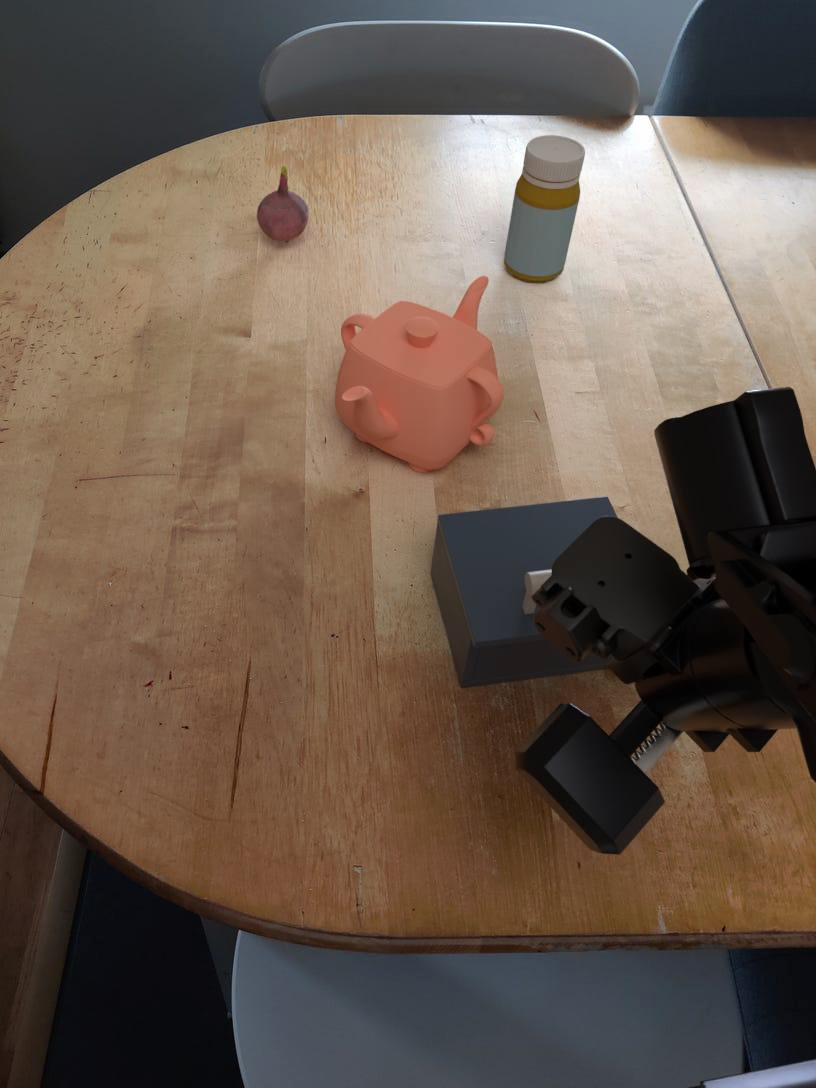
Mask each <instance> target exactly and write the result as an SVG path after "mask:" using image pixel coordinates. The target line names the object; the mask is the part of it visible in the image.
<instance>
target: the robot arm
mask: <svg viewBox="0 0 816 1088" xmlns="http://www.w3.org/2000/svg"><path fill="white" fill-rule="evenodd" d="M653 435H654V439H655V443H656V446H657V450H658V454H659V458H660V461H661V465H662V470H663V473H664V477H665V480H666V483H667V488H668V491H669V495H670V499H671V502H672V507H673V510H674V514H675V517H676V521H677V525H678V529H679V533H680V537H681V540H682V543H683V547H684V552H685V555H686V558H687V563H688V568H687V569H686V573H685V572H684V571H683V570H682V569H681V568H680V564H679V563H678V560H677V559H676V558H675V557H674V556H673V555H672V554H670V553H669V552H667V551H666V550H665V549H664V548H662V547H661V546H659V544H657V543H655V542H654V541H652V540H651V539H649V537H647V536H645V535H644V534H643V533H641V532H640V531H639V530H637V529H636V528H634V527H633V526H631V525H630V524H629V523H627V522H626V521H624V520H623V519H622V518H620V517H618V516H617V517H618V518H617V517H614V516H604V517H600V518H598V519H597V520H595V521H594V522H593V523H592V524H591V525H590V526H589V527H588V528H587V529H586V530H585V531H584V532H583V533H582V534H581V535H580V536H579V537H578V538H577V539H576V540H575V541H574V542H573V543H572V544H571V545H570V546H569V547H568V548H567V549H566V550H565V551H564V552H563V553H562V554H561V555H560V556H559V557H558V558H557V559H556V560H555V561H554V563H553V566H552V573H551V576H550V577H549V578H548V579H547V580H546V581H545V582H544V583H543V584H542V585H541V587H540V588H539V589H538V590H537V591H536V592H535V593H534V594H533V595H532V599H533V601H534V602H535V603H536V604H537V605H538V606H539V607H540V608H539V609H538V610H537V611H536V612H535V613H534V626H535V627H536V629H537V630H538V631H539V633H540V634H541V635H543V636H544V637H545V638H546V639H547V640H549V641H550V642H551V643H552V644H553V645H554V646H556V647H557V648H558V649H559V650H560V651H562V652H563V653H564V654H565V655H566V656H567V657H569V658H570V659H571V660H574V661H577V662H581V661H582V660H583V659H584V657H585V656H586V655H587V654H589V653H595V654H597V655H598V656H599V657H601V658H603V659H606V658H607V657H608V656H609V655H610V654H611V655H612V656H613V658H612V659H611V660H610V661H609V662H608V663H607V664H606V666H607V667H608V668H609V669H608V670H610V671H611V672H612V673H613V674H614V675H615V676H616V677H617V679H619V680H620V682H622V683H623V684H624V685H631V684H634V688H635V691H636V693H637V695H638V697H639V699H640V700H639V702H637V704H636V705H635V706H634V707H633V708H632V709H631V711H629V712H628V714H627V715H626V716H625V717H624V718H623V719H622V720H621V721H620V723H619V724H618V725H617V726H616V727H615V728H614V729H613V730H612V731H611V732H610V733H609V734H608V733H607V732H606V731H605V730H604V729H603V728H602V727H601V726H600V725H599V724H598V723H597V721H595V720H594V719H593V717H591V716H590V715H589V714H587V713H586V712H585V711H583V710H581V709H580V708H578V707H577V706H576V705H574V704H572V703H571V702H570V703H563V702H560V704H558V706H557V707H556V708H555V709H554V710H553V711H552V712H551V713H550V714H549V715H548V716H547V717H546V718H545V719H544V720H543V722H541V723H540V725H539V726H538V727H536V728H535V730H534V731H533V732H532V733H531V734H530V735H529V736H528V737H527V738H526V739H525V741H524V742H523V743H522V744H521V745H520V746H519V747H518V748H516V750H515V751H514V770H515V771H517V773H518V774H519V775H520V776H521V777H522V778H523V779H524V780H525V781H526V783H528V784H529V786H530V787H531V788H532V789H533V790H534V791H535V792H536V793H537V794H538V795H539V797H541V799H543V801H544V802H545V803H546V804H547V805H548V806H549V807H550V808H551V809H552V811H554V813H555V814H556V815H557V816H558V817H559V818H560V819H561V821H563V822H564V824H565V825H566V826H567V827H568V828H569V829H570V830H571V831H572V832H573V833H574V834H575V835H576V837H578V839H579V840H580V841H581V842H582V843H583V844H584V845H585V846H586V847H587V848H588V849H589V850H590V851H592V852H595V853H599V854H602V855H622V853H623V852H624V851H625V850H626V849H627V848H628V847H629V845H630V844H631V843H632V842H633V840H635V838H636V837H637V836H638V835H639V834H640V833H641V831H642V830H643V829H644V828H645V827H646V825H647V824H648V823H649V822H650V820H651V819H653V817H654V816H655V815H656V814H657V812H658V811H659V810H660V809H661V808H662V806H664V805H665V803H666V800H665V799H664V796H663V794H662V791H661V789H660V788H659V786H657V784H656V783H655V782H654V781H653V780H652V779H651V778H650V776H648V775H647V774H648V773H649V772H650V771H651V769H652V768H653V767H654V766H655V765H657V763H658V761H659V760H660V759H661V758H662V757H663V756H664V755H665V754H666V753H667V751H668V750H669V749H670V748H671V747H672V746H673V745H674V743H675V742H676V741H677V740H678V739H679V738H680V737H681V736H682V734H683V733H685V734H686V735H687V736H688V738H690V739H691V741H693V742H694V743H695V744H696V745H697V746H698V747H699V748H700V749H701V751H702V752H704V753H715V752H716V751H717V750H718V748H719V747H720V746H721V745H722V744H723V742H724V741H725V740H726V739H727V738H728V737H729V736H731V737H732V738H733V740H735V742H737V743H738V744H739V745H740V746H741V748H743V750H745V752H747V753H760V752H761V751H762V750H763V748H764V747H765V746H766V745H767V744H768V742H769V741H770V740H771V739H772V738H773V737H774V735H776V733H777V732H778V731H779V730H791V729H792V730H793V729H796V732H797V735H798V739H799V742H800V746H801V749H802V753H803V756H804V760H805V763H806V767H807V770H808V774H809V776H810V778H811V780H812V781H813V782H814V783H815V784H816V465H815V462H814V458H813V455H812V453H811V449H810V446H809V443H808V440H807V436H806V431H805V425H804V419H803V414H802V412H801V408H800V404H799V402H798V399H797V396H796V393H795V390H794V388H792V387H791V386H782V387H773V388H765V389H754V390H746V391H744V392H742V393H741V394H740V395H739V396H738V397H736V398H735V399H734V400H730V401H725V402H721V403H718V404H713V405H710V406H707V407H704V408H700V409H697V410H695V411H692V412H689V413H687V414H685V415H682V416H676V417H670V418H666V419H664V420H663V421H662V422H660V423H659V424H658V425H656V427H655V429H654V431H653ZM658 726H659V727H660V728H658ZM653 732H654V733H655V734H654V733H653ZM648 738H649V739H650V740H649V739H648ZM644 744H645V745H644ZM638 749H639V750H640V751H639V750H638ZM633 755H634V756H635V757H634V756H633ZM687 1088H816V1058H811V1059H807V1060H801V1061H797V1062H791V1063H787V1064H781V1065H777V1066H771V1067H766V1068H761V1069H756V1070H752V1071H746V1072H741V1073H736V1074H730V1075H726V1076H721V1077H715V1078H710V1079H704V1080H701V1081H699V1084H698V1085H695V1086H689V1087H687Z"/></svg>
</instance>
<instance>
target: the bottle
mask: <svg viewBox="0 0 816 1088" xmlns="http://www.w3.org/2000/svg"><path fill="white" fill-rule="evenodd" d="M585 156H586V150H585V147H584V145H582V143H580V142H579V141H577V140H575V139H573V138H570V137H567V136H564V135H557V134H556V135H555V134H546V135H540V136H536V137H533V138H532V139H530V140H529V141H528V142H527V144H526V146H525V151H524V157H523V166H522V170H521V174H520V176H519V178H518V180H516V184H515V188H514V194H513V201H512V207H511V211H510V212H511V213H510V219H509V225H508V231H507V238H506V243H505V249H504V250H505V251H504V257H503V265H504V266H505V267H504V268H505V269H507V271H508V273H509V274H511V275H512V276H513V277H514V278H516V279H518V280H519V281H523V282H527V283H534V284H540V283H547V282H550V281H553V280H554V279H556V278H557V277H558V276H560V275H561V274H562V272H563V271H564V270H565V269H564V268H565V265H566V261H567V257H568V252H569V247H570V243H571V238H572V234H573V229H574V224H575V221H576V216H577V212H578V206H579V203H580V198H581V186H580V178H581V174H582V170H583V165H584V160H585Z"/></svg>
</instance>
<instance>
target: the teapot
mask: <svg viewBox="0 0 816 1088" xmlns="http://www.w3.org/2000/svg"><path fill="white" fill-rule="evenodd" d="M489 283H490V282H489V277H488V276H487V275H482V276H479V277H477V278H476V279H475V280H473V281H472V282H471V283H470V285H469V286H468V287H467V289H466V291H465V293H464V295H463V296H462V299H461V300H460V303H459V305H458V306H457V308H456V310H455V312H454V314H453V316H451V315H448V314H445V313H444V312H441V311H438V310H435V309H433V308H430V307H428V306H425V305H422V304H419V303H415V302H411V301H408V300H399V301H398V302H395V303H394V304H393V305H390V306H389V307H388V308H386V309H385V310H384V311H383V312H381V313H380V314H379V315H378V316H376V317H374V316H372V315H370V314H368V313H364V312H363V313H362V312H360V313H359V312H358V313H354V314H351V315H349V316H348V317H347V318H346V319H345V320H344V321H343V322H342V324H341V327H340V337H341V341H342V344H343V347H344V349H345V352H344V355H343V357H342V360H341V363H340V365H339V370H338V373H337V378H336V385H335V392H334V407H335V410H336V412H337V415H338V416H339V418H340V420H341V421H342V423H343V424H344V425H345V426H346V427H347V428H348V429H350V430H351V431H352V432H354V435H355V437H356V439H357V440H358V441H360V442H361V443H367V444H368V443H369V444H371V445H372V446H374V447H376V448H377V449H378V450H381V451H383V452H385V453H387V454H389V455H391V456H393V457H395V458H397V459H400V460H402V461H405V462H407V464H408V466H409V467H410V468H411V469H412V470H413V471H415V472H419V473H427V472H429V471H432V470H440V469H441V468H444V467H445V466H446V465H447V464H449V462H450V461H452V460H453V459H454V458H455V457H456V456H457V455H458V454H460V453H461V451H462V450H463V449H464V448H465V447H466V446H467V445H468V444H469V443H470V442H471V443H473V444H474V445H476V446H481V447H482V446H483V447H485V446H487V445H489V444H491V443H492V442H493V440H494V438H495V437H496V431H495V429H494V427H493V426H492V425H491V424H489V423H487V421H488V420H489V419H490V418H492V417H493V416H494V415H495V414H496V412H497V411H499V409H500V407H501V406H502V404H503V401H504V397H505V391H504V388H503V386H502V383H501V382H500V380H499V377H498V367H497V362H496V360H497V359H496V355H495V349H494V346H493V341H492V340H491V339H490V338H489V337H488V336H486V335H485V334H483V333H482V332H480V331H479V330H478V319H479V309H480V304H481V301H482V298H483V297H482V296H483V295H484V294H485V291H486V289H487V288H488V285H489ZM356 327H357V328H360V329H361V330H360V331H358V333H357V331H356Z"/></svg>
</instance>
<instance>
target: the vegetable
mask: <svg viewBox="0 0 816 1088" xmlns="http://www.w3.org/2000/svg"><path fill="white" fill-rule="evenodd" d="M280 169H281V170H280V176H279V184H278V187H277V190H274V191H272V192H271V193H270V192H269V194H267V195H266V196H264V197H263V198H262V200H261V201H260V202H259V204H258V207H257V209H256V219H257V223H258V225H259V228H260V230H261V232H262V233H263V234H264V235H265V236H267V238H269V239H271V240H273V241H275V242H281V243H283V242H284V243H285V244H287V243H290V241H293V240H295V239H296V238H298V237H299V236H300V235H301V234H302V233H304V230H305V229H306V227H307V225H308V222H309V218H310V217H309V216H310V213H309V208H308V205H307V202H305V200H304V199H303V198H302V197H301V196H300V195H299V194H297V193H295V192H293V191H290V190H289V183H288V181H289V180H288V178H289V176H288V169H287V166H284V165H283V166H281V168H280Z"/></svg>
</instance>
